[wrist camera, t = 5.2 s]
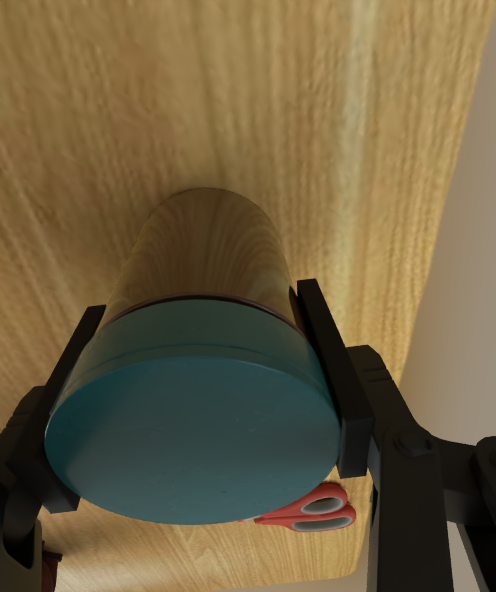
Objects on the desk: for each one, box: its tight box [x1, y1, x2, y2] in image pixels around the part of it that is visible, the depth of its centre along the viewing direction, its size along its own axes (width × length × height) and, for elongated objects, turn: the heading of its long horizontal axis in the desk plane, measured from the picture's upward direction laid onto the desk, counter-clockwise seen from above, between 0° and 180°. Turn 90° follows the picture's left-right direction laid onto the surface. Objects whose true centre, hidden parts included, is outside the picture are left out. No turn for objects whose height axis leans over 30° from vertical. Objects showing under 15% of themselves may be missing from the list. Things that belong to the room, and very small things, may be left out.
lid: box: [44, 299, 341, 525], centre depth 10 cm, size 8×8×2 cm
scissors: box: [238, 484, 356, 532], centre depth 35 cm, size 8×21×2 cm, turn 100°
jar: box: [91, 188, 313, 348], centre depth 14 cm, size 8×8×11 cm
